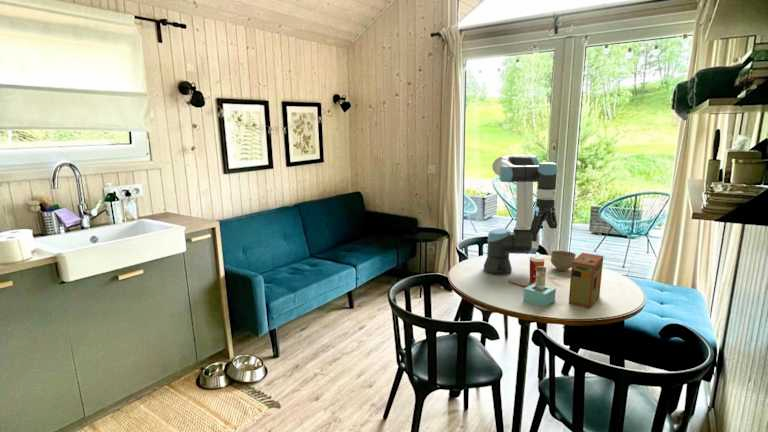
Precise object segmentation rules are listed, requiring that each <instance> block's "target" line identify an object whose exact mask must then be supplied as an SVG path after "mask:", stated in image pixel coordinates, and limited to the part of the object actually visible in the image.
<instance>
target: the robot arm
mask: <svg viewBox="0 0 768 432" xmlns="http://www.w3.org/2000/svg"><path fill="white" fill-rule="evenodd" d="M492 171H493V172H494V174H495V175H497V176H498V177H499V181H500V182H503V183H516V207H515V208H516V213H515V214H516V216H515V217H516V218H515V219H516V225H515V226H514V228H513V230H512V231H513V232H512V231H511V229H508V228H497V229H493V230H490V231H489V233H488V234H487V235H488V236H487V252H486V253H487V255H486V256H487V257H486V259H485V262H484V264H483V272H485V273H487V274H490V275H492V276H506V275H510V274H511V273H513V272H512V270H513V268H512V264H511V261H510V254H520V255H521V254H525V255H529V254H531V255H534V254H535V253H537V251H538V250H539V245H540V230H541V228H542V227H543V226H542V225H543V223H544V222H545V221H546V223H547V225H548V227H547V232H546V233H547V235H546V242H548V243H551V244H553V243H554V239H555V229H557V228H558V221H557V217H556V216H557V215H556V207H555V203H556V199H555V198H556V194H557V191H556V189H557V176H558V174H557V173H558V165H557V163H555V162H547V161H545V162H539V159H538V157H537V156H536V155H535V154H507V155H502V156H500V157H497V158H496V159H495V160H494V162H493V163H492ZM534 183H537V184H536V185H537V187H536V202H535V207H537V208H538V210H534Z"/></svg>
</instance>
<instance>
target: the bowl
mask: <svg viewBox="0 0 768 432" xmlns="http://www.w3.org/2000/svg"><path fill="white" fill-rule="evenodd" d="M550 253H551V257H550V263H551V264H552V265H553V266H554V268H556V270H557V271H563V272H565V271H568V270H569V269H571V268H572V261H573V260H575V259H576V256H577V254H576V253H574V252H571V251H567V250H552V251H551V252H550Z"/></svg>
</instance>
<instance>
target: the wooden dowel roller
mask: <svg viewBox="0 0 768 432" xmlns="http://www.w3.org/2000/svg"><path fill="white" fill-rule="evenodd" d="M546 273H547V267H545V266H544V267H543V266H537V267H536V285H535V290H538V291H542V292H543V291H545V286H546Z"/></svg>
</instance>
